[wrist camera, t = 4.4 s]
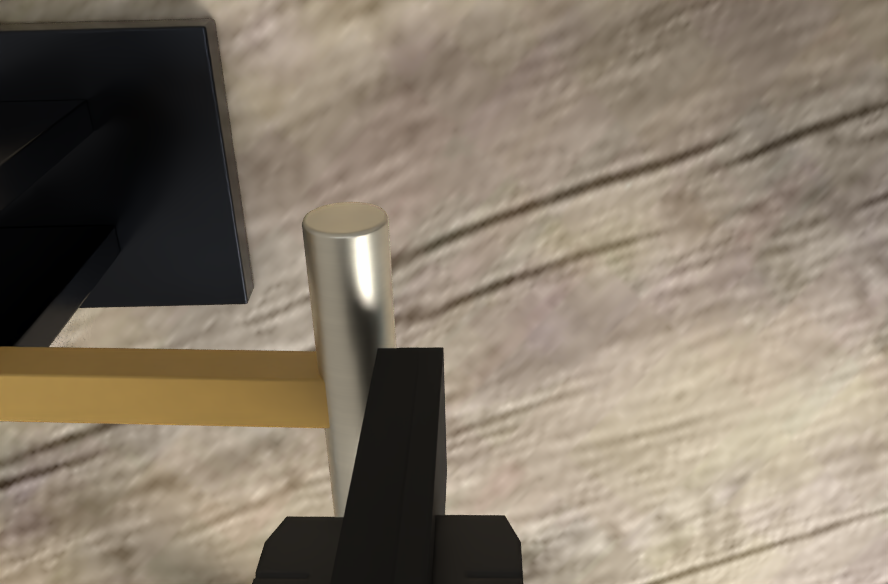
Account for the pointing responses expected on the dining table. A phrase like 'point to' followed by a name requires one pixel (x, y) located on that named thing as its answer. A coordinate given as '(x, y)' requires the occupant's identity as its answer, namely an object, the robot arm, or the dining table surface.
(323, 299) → the lever
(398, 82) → the dining table surface
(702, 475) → the dining table surface
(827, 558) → the dining table surface
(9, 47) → the bracket
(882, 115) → the dining table surface
